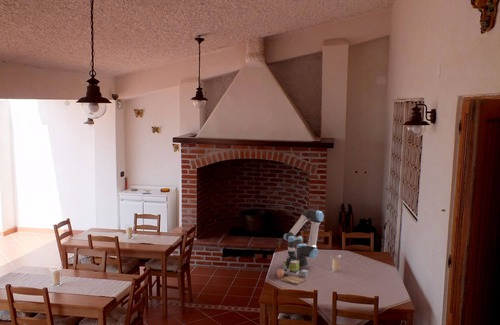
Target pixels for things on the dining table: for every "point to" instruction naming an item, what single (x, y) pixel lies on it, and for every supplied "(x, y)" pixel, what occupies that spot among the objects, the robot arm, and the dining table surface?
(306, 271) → the slate block
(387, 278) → the dining table surface
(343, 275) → the dining table surface
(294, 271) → the tea box
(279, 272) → the terracotta jar
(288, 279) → the slatted wooden board
